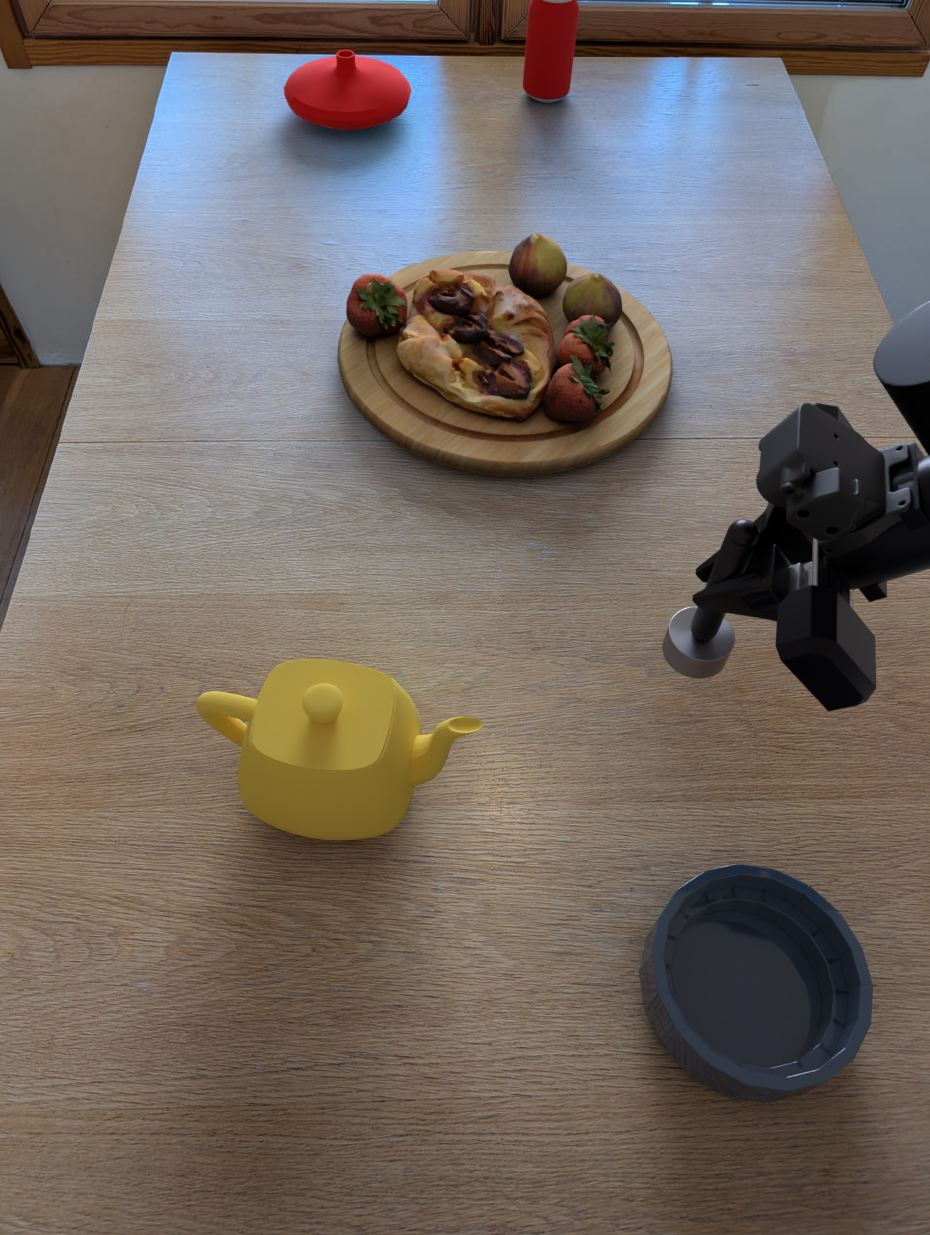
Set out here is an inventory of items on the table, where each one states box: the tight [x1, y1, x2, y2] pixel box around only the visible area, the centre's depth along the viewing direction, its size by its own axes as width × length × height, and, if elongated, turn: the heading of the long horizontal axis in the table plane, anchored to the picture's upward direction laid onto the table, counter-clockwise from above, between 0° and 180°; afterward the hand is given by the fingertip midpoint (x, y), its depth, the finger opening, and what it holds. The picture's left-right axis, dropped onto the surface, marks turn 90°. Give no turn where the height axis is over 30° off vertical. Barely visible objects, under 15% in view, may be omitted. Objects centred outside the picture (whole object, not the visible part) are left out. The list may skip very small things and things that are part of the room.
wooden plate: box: [337, 233, 674, 477], centre depth 88 cm, size 32×32×8 cm
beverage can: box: [522, 0, 580, 104], centre depth 118 cm, size 6×6×12 cm
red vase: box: [283, 49, 412, 131], centre depth 115 cm, size 16×16×7 cm
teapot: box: [195, 658, 483, 841], centre depth 60 cm, size 18×11×11 cm, turn 82°
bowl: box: [638, 863, 874, 1104], centre depth 55 cm, size 12×13×5 cm
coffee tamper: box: [661, 518, 759, 680], centre depth 58 cm, size 4×4×13 cm
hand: (697, 588), depth 58 cm, fingers closed on coffee tamper, 2 cm apart
